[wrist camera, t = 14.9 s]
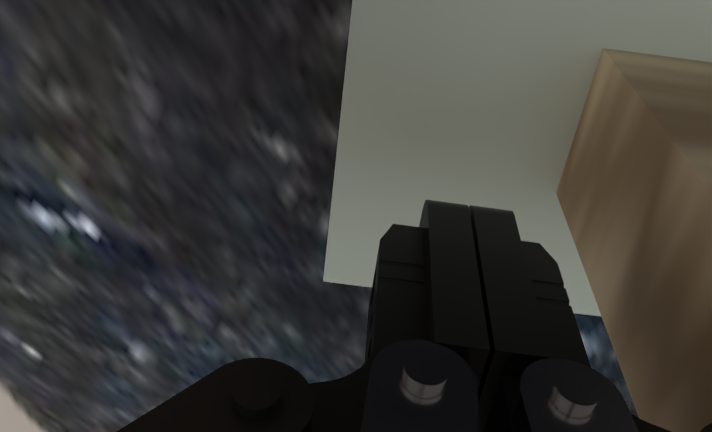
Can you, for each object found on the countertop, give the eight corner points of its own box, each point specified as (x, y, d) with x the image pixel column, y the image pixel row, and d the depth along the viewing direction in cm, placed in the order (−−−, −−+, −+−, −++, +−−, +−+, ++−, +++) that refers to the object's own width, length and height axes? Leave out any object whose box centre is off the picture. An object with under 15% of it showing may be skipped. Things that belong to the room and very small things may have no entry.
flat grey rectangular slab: (373, -183, 14) (371, -182, 13) (1219, -73, 14) (1249, -68, 13) (325, 269, 20) (323, 281, 20) (902, 342, 20) (915, 356, 20)
